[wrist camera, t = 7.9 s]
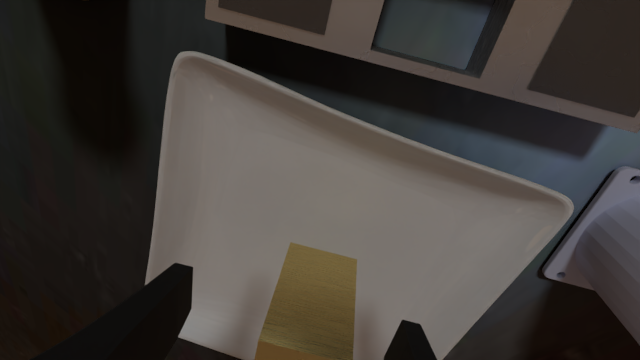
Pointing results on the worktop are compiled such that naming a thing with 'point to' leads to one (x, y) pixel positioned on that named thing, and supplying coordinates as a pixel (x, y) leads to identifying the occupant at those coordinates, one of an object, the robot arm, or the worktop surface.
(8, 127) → the worktop surface
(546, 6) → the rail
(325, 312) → the yellow rectangular block
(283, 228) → the salad plate
